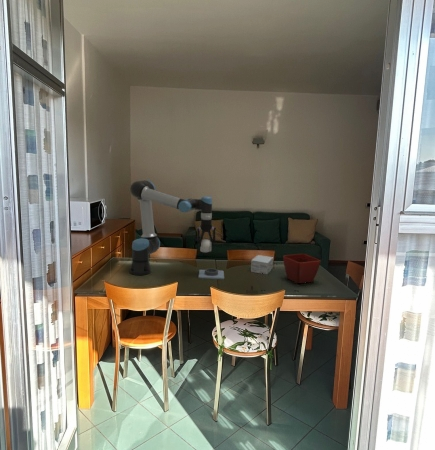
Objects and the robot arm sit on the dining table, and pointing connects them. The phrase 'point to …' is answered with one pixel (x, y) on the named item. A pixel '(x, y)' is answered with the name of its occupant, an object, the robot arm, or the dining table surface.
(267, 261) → the supplement box
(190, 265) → the dining table surface
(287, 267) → the plant pot
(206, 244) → the plug cap
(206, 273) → the barrel board
